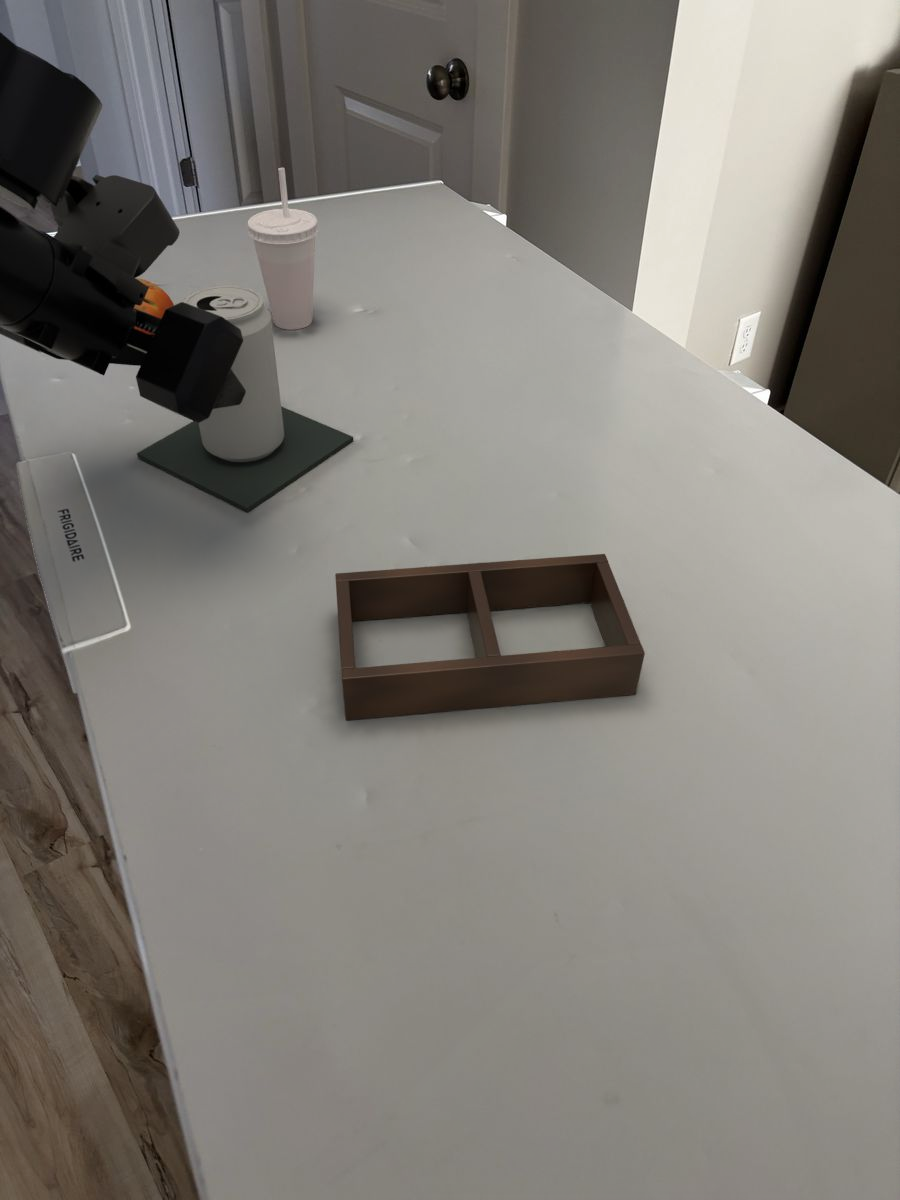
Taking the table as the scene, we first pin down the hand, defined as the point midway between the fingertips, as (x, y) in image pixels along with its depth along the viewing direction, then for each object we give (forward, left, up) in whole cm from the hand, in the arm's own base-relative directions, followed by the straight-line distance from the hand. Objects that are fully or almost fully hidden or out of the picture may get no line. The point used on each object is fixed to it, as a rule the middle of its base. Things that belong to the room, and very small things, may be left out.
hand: (194, 377), depth 66 cm
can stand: (+28, 0, -8) cm, 29 cm away
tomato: (-25, +9, -8) cm, 27 cm away
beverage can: (-1, +4, -8) cm, 9 cm away
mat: (-1, +4, -8) cm, 9 cm away
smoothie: (-16, +21, -8) cm, 27 cm away
